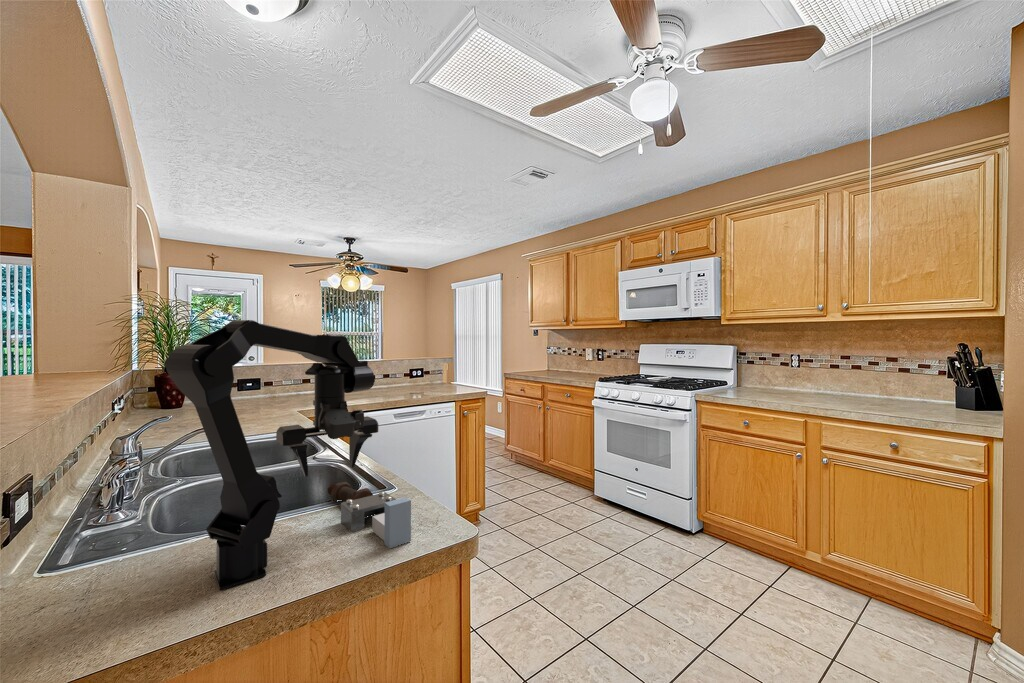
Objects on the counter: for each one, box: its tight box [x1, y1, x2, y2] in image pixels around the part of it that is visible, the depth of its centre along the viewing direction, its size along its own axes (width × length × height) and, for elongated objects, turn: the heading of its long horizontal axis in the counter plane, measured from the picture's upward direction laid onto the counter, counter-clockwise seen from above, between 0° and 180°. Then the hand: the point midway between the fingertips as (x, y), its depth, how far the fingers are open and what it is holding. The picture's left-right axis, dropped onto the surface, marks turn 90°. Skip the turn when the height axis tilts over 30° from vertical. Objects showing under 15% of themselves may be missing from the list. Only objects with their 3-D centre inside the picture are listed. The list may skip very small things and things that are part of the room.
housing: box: [340, 491, 397, 533], centre depth 94 cm, size 10×6×5 cm, turn 131°
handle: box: [371, 496, 412, 549], centre depth 86 cm, size 4×9×8 cm, turn 41°
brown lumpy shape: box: [326, 481, 374, 503], centre depth 103 cm, size 6×5×15 cm
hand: (329, 471), depth 89 cm, fingers open, 9 cm apart
